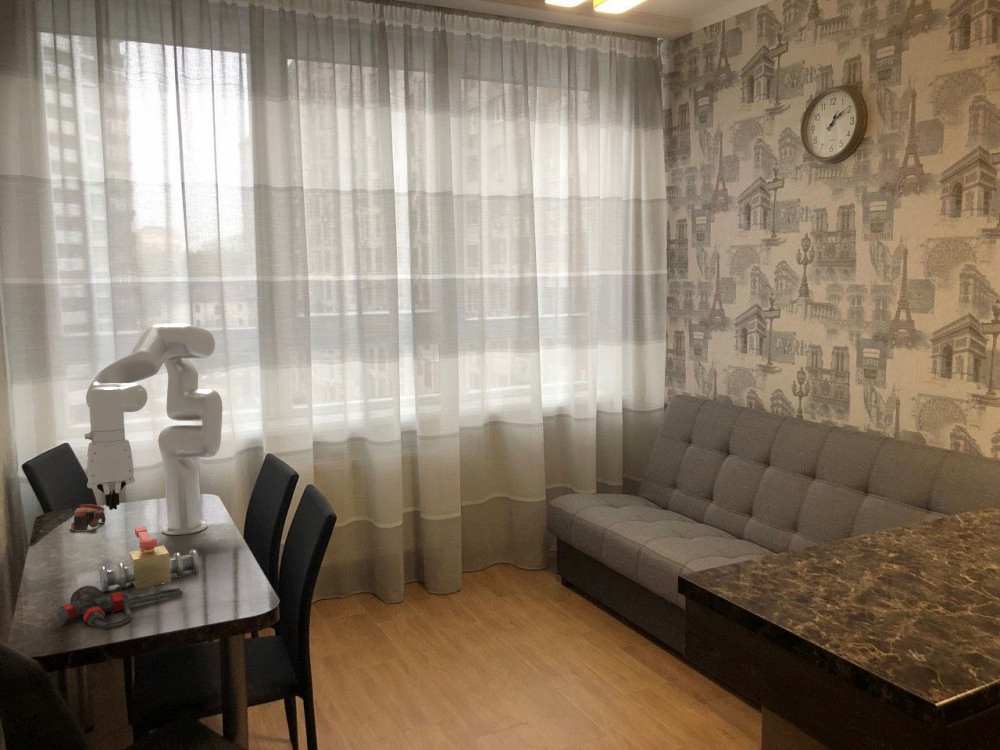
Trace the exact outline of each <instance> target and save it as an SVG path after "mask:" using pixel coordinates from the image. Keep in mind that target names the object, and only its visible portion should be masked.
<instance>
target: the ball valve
mask: <svg viewBox="0 0 1000 750" xmlns="http://www.w3.org/2000/svg"><path fill="white" fill-rule="evenodd" d="M199 557H200V556H199V553H198V550H197V549H196V548H195V549H190V550H189V553H188V554H185V555H184V554H183V555H182V554H181V552H179V551H178V552H174V553H173V555H172V557H170V552H169V551H168V549H167V548H166V547H165V545H160V546H158V545H157V547H154V548H151V549H137V550H132V551H131V550H130V551H129V563H130V564H129V565H126V566H125V563H124V562H120V563H119V562H118V563H117V564H116V567H115V568H109V569H107V567H106V565H101V566H99V568H98V569H99V570H98V572H99V583H100V591H101V593H105V592H109V587H113V586H119V589H124V588H127V584H128V583H132V585H133V587H134V589H135V590H136V589H137V590H141V589H146V588H150V586H151V587H155V586H154V585H156V586H159V585H158V584H161V585H163V584H162V583H166V584H170V583H169V582H171V583H172V577H171V575H174V574H175V577H176V576H177V577H176V578H179V577H183V575H184V572H189V571H191V573H192V574H193V575H194V574H198V573H200V567H201V566H200V559H199Z"/></svg>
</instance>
